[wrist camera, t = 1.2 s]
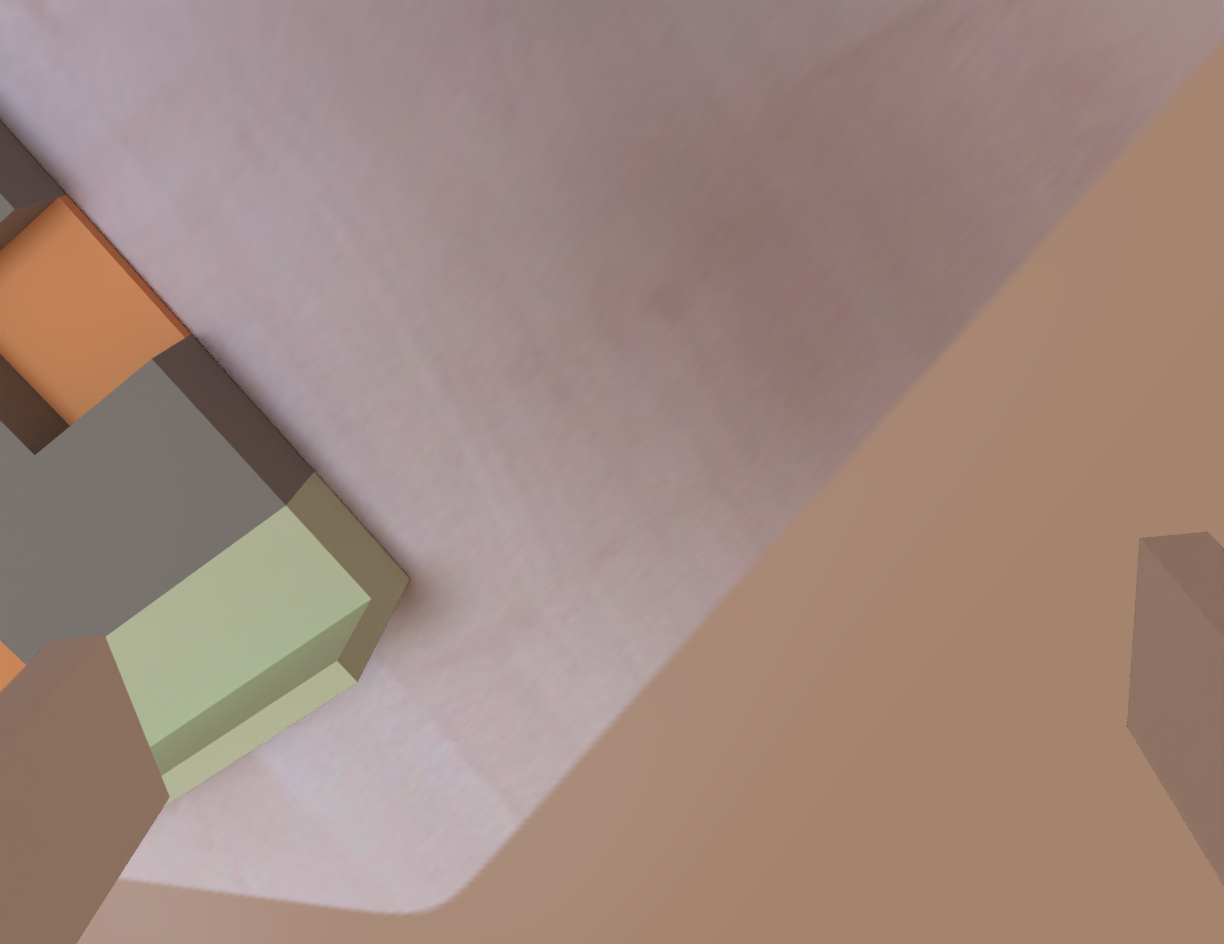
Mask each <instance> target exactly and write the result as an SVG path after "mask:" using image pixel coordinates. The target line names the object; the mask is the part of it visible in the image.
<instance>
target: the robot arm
mask: <svg viewBox="0 0 1224 944" xmlns="http://www.w3.org/2000/svg"><path fill="white" fill-rule="evenodd" d="M1133 629H1134V630H1133V643H1132V644H1133V645H1132V658H1131V673H1130V674H1131V675H1130V688H1129V703H1128V717H1127V727H1128V729H1129V730H1130V732H1131V734H1132V735H1133V737H1134V739H1135V740H1136V742H1137V744H1138V745H1139V747H1140V748H1141V750H1142V752H1143V754H1144V755H1145V757H1146V759H1147V760H1148V762H1149V764H1150V765H1151V767H1152V769H1153V770H1154V772H1155V773H1156V775H1157V777H1158V778H1159V780H1160V782H1161V783H1162V785H1163V787H1164V788H1165V790H1166V792H1167V793H1168V795H1169V797H1170V798H1171V800H1172V801H1173V803H1174V805H1175V807H1176V808H1177V810H1178V811H1179V813H1180V815H1181V816H1182V818H1183V820H1184V821H1185V823H1186V825H1187V826H1188V828H1189V830H1190V831H1191V833H1192V835H1193V836H1194V838H1195V840H1196V841H1197V843H1198V845H1199V846H1200V848H1201V849H1202V851H1203V853H1204V855H1205V856H1206V858H1207V860H1208V861H1209V863H1210V864H1211V866H1212V868H1213V869H1214V871H1215V873H1216V874H1217V876H1218V878H1219V879H1220V881H1221V883H1222V884H1223V886H1224V548H1223V547H1222V546H1221V545H1220V544H1219V543H1218V542H1217V541H1216V540H1215V539H1214V538H1213V537H1212V536H1211V535H1210V534H1209V533H1208V532H1200V533H1190V534H1179V535H1168V536H1158V537H1147V538H1140V540H1139V554H1138V571H1137V585H1136V599H1135V614H1134V628H1133ZM169 797H170V796H169V794H168V791H167V789H166V786H165V784H164V781H163V779H162V776H161V774H160V771H159V769H158V766H157V764H156V761H155V759H154V756H153V754H152V751H151V749H150V746H149V744H148V741H147V739H146V736H145V734H144V731H143V729H142V726H141V724H140V721H139V719H138V717H137V714H136V712H135V709H134V707H133V704H132V702H131V699H130V697H129V694H128V692H127V689H126V687H125V684H124V682H123V679H122V677H121V674H120V672H119V669H118V667H117V664H116V662H115V659H114V657H113V654H112V652H111V649H110V647H109V644H108V642H107V639H106V637H105V635H99V636H89V637H78V638H67V639H57V640H51V641H50V642H49V643H48V644H47V645H46V646H45V647H44V648H43V649H42V650H41V651H40V652H39V653H38V654H37V655H36V656H35V657H34V658H33V659H32V660H31V661H30V662H29V663H28V664H27V665H26V666H25V667H24V668H23V670H22V671H21V672H20V673H19V674H18V675H17V676H16V677H15V678H14V679H13V680H12V681H11V682H10V683H9V684H8V685H7V686H6V687H5V688H4V689H3V690H2V691H1V692H0V944H76V943H77V942H78V940H79V939H80V937H81V935H82V934H83V932H84V931H85V929H86V928H87V926H88V924H89V923H90V921H91V920H92V918H93V917H94V915H95V913H96V912H97V910H98V909H99V907H100V906H101V904H102V902H103V901H104V899H105V898H106V896H107V895H108V893H109V892H110V890H111V888H112V886H113V885H114V884H115V882H116V881H117V879H118V877H119V876H120V874H121V873H122V871H123V870H124V868H125V866H126V865H127V863H128V862H129V860H130V859H131V857H132V855H133V854H134V852H135V851H136V849H137V848H138V846H139V845H140V843H141V841H142V840H143V838H144V837H145V835H146V834H147V832H148V830H149V829H150V827H151V826H152V824H153V823H154V821H155V819H156V818H157V816H158V815H159V813H160V812H161V810H162V808H163V807H164V805H165V804H166V802H167V801H168V799H169Z"/></svg>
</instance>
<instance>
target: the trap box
mask: <svg viewBox="0 0 1224 944" xmlns="http://www.w3.org/2000/svg"><path fill="white" fill-rule="evenodd" d="M409 579H410V578H409V577H408V576H407V575H406V574H405V572H404V571H403V570H402V569H401V568H400V567H399V566H398V565H397V564H396V562H395V561H394V560H393V559H392V558H391V557H390V556H389V555H388V553H387V552H386V551H385V550H384V549H383V548H382V547H381V546H380V545H379V543H378V542H377V541H376V540H375V539H374V538H373V537H372V536H371V534H370V533H369V532H368V531H367V530H366V529H365V528H364V527H363V526H362V524H361V523H360V522H359V521H358V520H357V519H356V518H355V517H354V515H353V514H352V513H351V512H350V511H349V510H348V509H347V508H346V507H345V505H344V504H343V503H342V502H341V501H340V500H339V499H338V498H337V496H336V495H335V494H334V493H333V492H332V491H331V490H330V489H329V488H328V486H327V485H326V484H325V483H324V482H323V481H322V480H321V479H320V477H319V476H318V475H317V474H316V473H315V472H314V471H313V470H312V469H311V467H310V466H309V465H308V464H307V463H306V462H305V461H304V460H303V458H302V457H301V456H300V455H299V454H298V453H297V452H296V451H295V450H294V448H293V447H292V446H291V445H290V444H289V443H288V442H287V441H286V439H285V438H284V437H283V436H282V435H281V434H280V433H279V432H278V430H277V429H276V428H275V427H274V426H273V425H272V424H271V423H270V422H269V420H268V419H267V418H266V417H265V416H264V415H263V414H262V413H261V411H260V410H259V409H258V408H257V407H256V406H255V405H254V404H253V403H252V401H251V400H250V399H249V398H248V397H247V396H246V395H245V394H244V392H243V391H242V390H241V389H240V388H239V387H238V386H237V385H236V384H235V382H234V381H233V380H232V379H231V378H230V377H229V376H228V375H227V373H226V372H225V371H224V370H223V369H222V368H221V367H220V366H219V365H218V363H217V362H216V361H215V360H214V359H213V358H212V357H211V356H210V354H209V353H208V352H207V351H206V350H205V349H204V348H203V347H202V346H201V344H200V343H199V342H198V341H197V340H196V339H195V338H194V337H193V335H192V334H191V333H190V332H189V331H188V330H187V329H186V328H185V327H184V325H183V324H182V323H181V322H180V321H179V320H178V319H177V318H176V316H175V315H174V314H173V313H172V312H171V311H170V310H169V309H168V308H167V306H166V305H165V304H164V303H163V302H162V301H161V300H160V299H159V297H158V296H157V295H156V294H155V293H154V292H153V291H152V290H151V288H150V287H149V286H148V285H147V284H146V283H145V282H144V281H143V280H142V278H141V277H140V276H139V275H138V274H137V273H136V272H135V271H134V269H133V268H132V267H131V266H130V265H129V264H128V263H127V262H126V261H125V259H124V258H123V257H122V256H121V255H120V254H119V253H118V252H117V250H116V249H115V248H114V247H113V246H112V245H111V244H110V243H109V242H108V240H107V239H106V238H105V237H104V236H103V235H102V234H101V233H100V231H99V230H98V229H97V228H96V227H95V226H94V225H93V224H92V223H91V221H90V220H89V219H88V218H87V217H86V216H85V215H84V214H83V212H82V211H81V210H80V209H79V208H78V207H77V206H76V205H75V204H74V202H73V201H72V200H71V199H70V198H69V197H68V196H67V195H66V193H65V192H64V191H63V190H62V189H61V188H60V187H59V186H58V185H57V183H56V182H55V181H54V180H53V179H52V178H51V177H50V176H49V174H48V173H47V172H46V171H45V170H44V169H43V168H42V167H41V166H40V164H39V163H38V162H37V161H36V160H35V159H34V158H33V157H32V155H31V154H30V153H29V152H28V151H27V150H26V149H25V148H24V146H23V145H22V144H21V143H20V142H19V141H18V140H17V139H16V138H15V136H14V135H13V134H12V133H11V132H10V131H9V130H8V129H7V127H6V126H5V125H4V124H3V123H2V122H1V121H0V692H1V691H2V690H3V689H4V688H5V687H6V686H7V685H8V684H9V683H10V682H11V681H12V680H13V679H14V678H15V677H16V676H17V675H18V674H19V673H20V672H21V671H22V670H23V668H24V667H25V666H26V665H27V664H28V663H29V662H30V661H31V660H32V659H33V658H34V657H35V656H36V655H37V654H38V653H39V652H40V651H41V650H42V649H43V648H44V647H45V646H46V645H47V644H48V643H49V642H50V641H51V640H57V639H67V638H78V637H89V636H99V635H105V637H106V639H107V642H108V644H109V647H110V649H111V652H112V654H113V657H114V659H115V662H116V664H117V667H118V669H119V672H120V674H121V677H122V679H123V682H124V684H125V687H126V689H127V692H128V694H129V697H130V699H131V702H132V704H133V707H134V709H135V712H136V714H137V717H138V719H139V721H140V724H141V726H142V729H143V731H144V734H145V736H146V739H147V741H148V744H149V746H150V749H151V751H152V754H153V756H154V759H155V761H156V764H157V766H158V769H159V771H160V774H161V776H162V779H163V781H164V784H165V786H166V789H167V791H168V794H169V796H170V797H169V799H168V801H167V802H166V804H165V805H164V806H166V805H167V804H169V803H171V802H172V801H174V800H175V799H177V798H178V797H180V796H181V795H183V794H185V793H186V792H188V791H189V790H191V789H192V788H194V787H195V786H197V785H199V784H200V783H202V782H203V781H205V780H206V779H208V778H209V777H211V776H213V775H214V774H216V773H217V772H219V771H220V770H222V769H223V768H225V767H227V766H228V765H230V764H231V763H233V762H234V761H236V760H237V759H239V758H241V757H242V756H244V755H245V754H247V753H248V752H250V751H251V750H253V749H255V748H256V747H258V746H259V745H261V744H262V743H264V742H265V741H267V740H269V739H270V738H272V737H273V736H275V735H276V734H278V733H279V732H281V731H283V730H284V729H286V728H287V727H289V726H290V725H292V724H293V723H295V722H297V721H298V720H300V719H301V718H303V717H304V716H306V715H307V714H309V713H311V712H312V711H314V710H315V709H317V708H318V707H320V706H321V705H323V704H325V703H326V702H328V701H329V700H331V699H332V698H334V697H335V696H337V695H339V694H340V693H342V692H343V691H345V690H346V689H348V688H349V687H351V686H353V685H354V684H356V683H357V682H358V680H359V678H360V676H361V674H362V672H363V670H364V668H365V666H366V664H367V662H368V660H369V658H370V656H371V654H372V652H373V650H374V649H375V647H376V645H377V643H378V641H379V639H380V637H381V635H382V633H383V631H384V629H385V627H386V625H387V623H388V621H389V619H390V617H391V615H392V613H393V611H394V609H395V607H396V605H397V603H398V601H399V599H400V597H401V595H402V593H403V591H404V589H405V587H406V585H407V583H408V581H409Z"/></svg>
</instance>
